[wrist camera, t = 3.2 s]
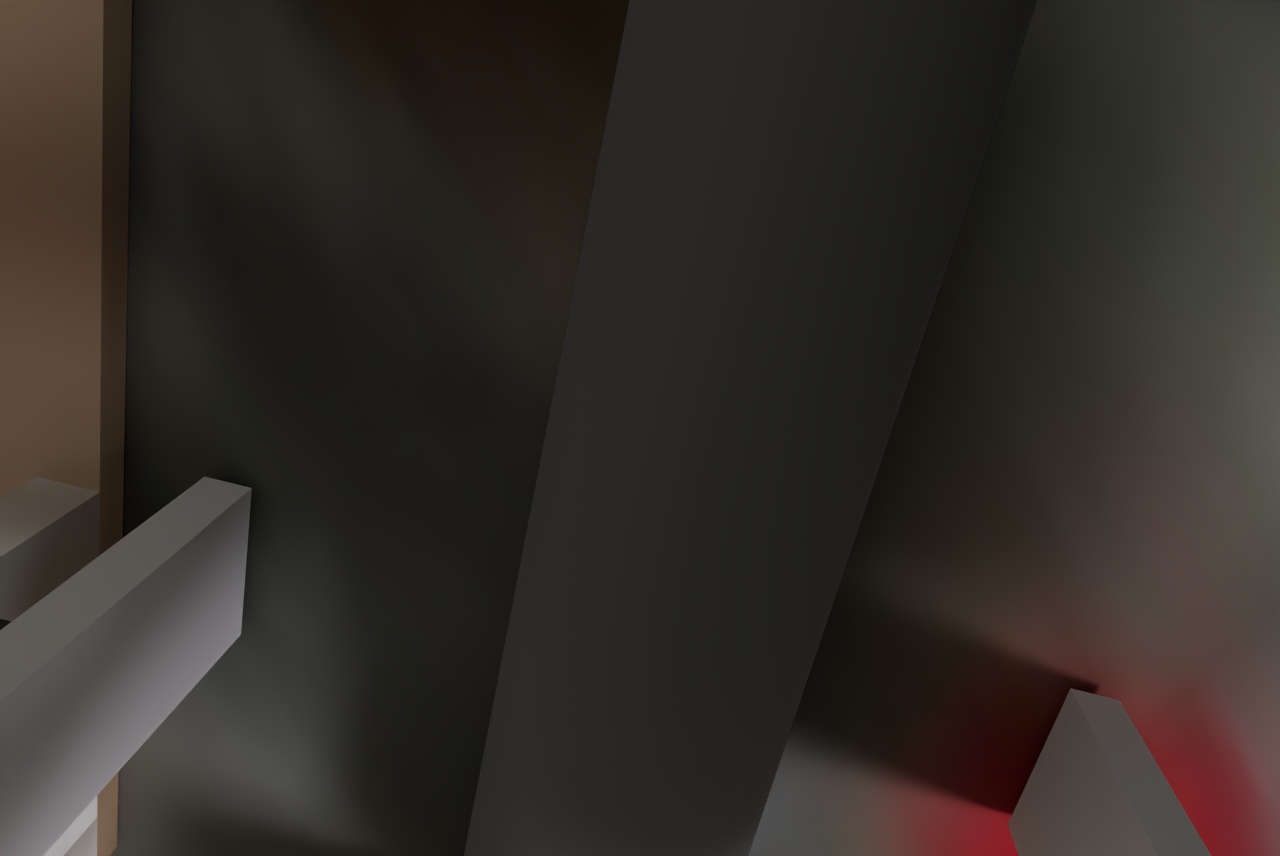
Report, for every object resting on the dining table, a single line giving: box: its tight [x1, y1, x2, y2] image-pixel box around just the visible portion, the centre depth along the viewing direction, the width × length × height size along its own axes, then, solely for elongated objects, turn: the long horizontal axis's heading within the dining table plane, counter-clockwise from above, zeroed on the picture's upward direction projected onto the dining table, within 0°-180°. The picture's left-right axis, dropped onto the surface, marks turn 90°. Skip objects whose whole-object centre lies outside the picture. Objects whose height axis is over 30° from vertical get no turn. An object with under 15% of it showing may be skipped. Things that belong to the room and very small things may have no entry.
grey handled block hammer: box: [464, 0, 1037, 856], centre depth 13 cm, size 22×5×5 cm, turn 168°
